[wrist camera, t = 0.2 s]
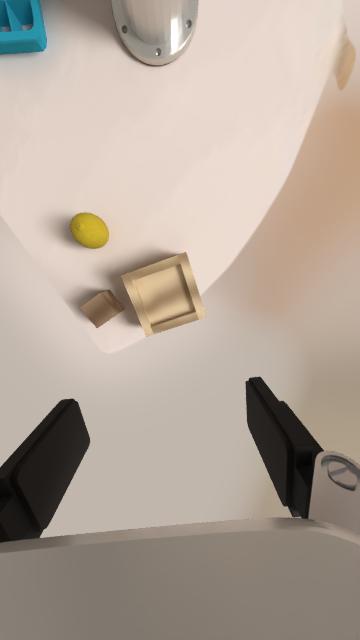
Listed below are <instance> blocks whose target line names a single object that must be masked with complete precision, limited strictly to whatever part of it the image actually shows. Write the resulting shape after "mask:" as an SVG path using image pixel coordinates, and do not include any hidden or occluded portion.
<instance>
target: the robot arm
mask: <svg viewBox="0 0 360 640" xmlns="http://www.w3.org/2000/svg"><path fill="white" fill-rule="evenodd" d="M111 5H112V11H113V16H114V20H115V23H116V27H117V30H118V32H119V35H120V37H121V39H122V41H123V43H124V44H125V46H126V48H127V49H128V50H129V51H130V52H131V53H132V54H133V55H134V56H135V57H136V58H138V59H139V60H141V61H143V62H144V63H147V64H151V65H164V64H167V63H170V62H172V61H173V60H175V59H177V58H178V57H179V56H180V55H181V54H182V53H183V52H184V50H185V49H186V48H187V46H188V45H189V43H190V41H191V39H192V36H193V33H194V30H195V27H196V22H197V16H198V0H111ZM246 404H247V423H248V427H249V430H250V432H251V434H252V437H253V439H254V441H255V444H256V446H257V448H258V450H259V453H260V455H261V457H262V459H263V462H264V464H265V466H266V468H267V471H268V473H269V475H270V478H271V480H272V482H273V484H274V487H275V489H276V491H277V494H278V496H279V498H280V500H281V502H282V504H283V506H288V508H289V510H290V512H291V514H292V517H301V518H260V519H246V520H230V521H218V522H207V523H196V524H183V525H172V526H160V527H151V528H139V529H128V530H118V531H107V532H97V533H86V534H76V535H67V536H57V537H47V538H40V535H41V534H42V532H43V530H44V529H46V528H47V526H48V525H49V523H50V521H51V519H52V518H53V516H54V514H55V512H56V510H57V508H58V506H59V504H60V502H61V500H62V498H63V496H64V494H65V492H66V490H67V488H68V486H69V484H70V482H71V480H72V478H73V476H74V474H75V472H76V470H77V468H78V466H79V464H80V463H81V461H82V459H83V457H84V454H85V452H86V451H87V449H88V447H89V444H90V437H89V434H88V431H87V428H86V425H85V422H84V419H83V416H82V413H81V410H80V407H79V404H78V402H77V401H75V400H74V399H64V400H61V401H60V402H59V403H58V404H57V405H56V406H55V407H54V408H53V409H52V411H51V412H50V413H49V414H48V415H47V416H46V417H45V418H44V419H43V421H42V422H41V423H40V424H39V425H38V426H37V427H36V429H34V431H33V432H32V433H31V434H30V435H29V436H28V437H27V438H26V440H25V441H24V442H23V443H22V444H21V445H20V446H19V447H18V448H17V449H16V451H15V452H14V453H13V454H12V455H11V456H10V457H9V458H8V459H7V461H6V462H5V463H4V464H3V465H2V466H1V467H0V640H360V465H359V464H358V463H357V462H355V461H354V460H353V459H351V458H349V457H347V456H345V455H343V454H341V453H338V452H334V451H324V450H323V449H322V448H321V447H320V445H319V444H318V443H317V441H316V440H315V439H314V438H313V436H312V435H311V434H310V433H309V431H308V430H307V429H306V428H305V426H304V425H303V424H302V423H301V421H300V420H299V419H298V418H297V416H296V415H295V414H294V413H293V411H292V410H291V409H290V408H289V406H288V405H287V404H286V403H285V402H284V401H279V400H278V399H277V398H276V397H275V395H274V394H273V393H272V391H271V390H270V389H269V387H268V386H267V385H266V383H265V382H264V381H263V379H262V378H261V377H253V378H249V381H246Z"/></svg>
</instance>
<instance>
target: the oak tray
mask: <svg viewBox="0 0 360 640" xmlns="http://www.w3.org/2000/svg"><path fill="white" fill-rule="evenodd" d="M121 278H122V280H123V282H124V285H125V287H126V290H127V292H128V294H129V297H130V299H131V302H132V304H133V306H134V309H135V311H136V313H137V316H138V318H139V321H140V323H141V325H142V328H143V330H144V332H145V335H146V337H147V336H150V335H153V334H156V333H159V332H162V331H165V330H168V329H171V328H174V327H177V326H180V325H183V324H186V323H190V322H192V321H195V320H199V319H202V318H204V317H206V314H205V311H204V308H203V305H202V301H201V298H200V295H199V292H198V289H197V285H196V282H195V279H194V276H193V273H192V269H191V266H190V263H189V260H188V257H187V254H186V252H184V253H182V254H179V255H176V256H173V257H171V258H168V259H165V260H162V261H160V262H157V263H154V264H151V265H149V266H146V267H143V268H140V269H138V270H135V271H132V272H129V273H127V274H124V275H121Z"/></svg>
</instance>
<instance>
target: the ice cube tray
mask: <svg viewBox="0 0 360 640" xmlns="http://www.w3.org/2000/svg"><path fill="white" fill-rule="evenodd" d="M30 24H33V27H32V29H31V30H24V31H23V30H22V25H30ZM1 26H11V31H10V32H2V28H1ZM46 46H47V38H46V33H45V27H44V22H43V16H42V11H41V5H40V0H0V54H11V53H25V52H40V51H44V50H45V48H46Z"/></svg>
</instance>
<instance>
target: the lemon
mask: <svg viewBox="0 0 360 640" xmlns="http://www.w3.org/2000/svg"><path fill="white" fill-rule="evenodd" d="M71 232H72V234H73V236H74V238H75V239H76V240H77V241H78V242H79V243H80V244H82V245H83V246H85V247H88V248H93V249H97V248H101V247H102V246H104V245H105V244H106V243H107V241H108V238H109V231H108V228H107V226H106V224H105V223H104V222H103V220H102V219H100V218H99V217H98V216H96V215H94V214H91V213H79V214H77V215H76V216H75V217H73V219H72V221H71Z"/></svg>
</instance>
